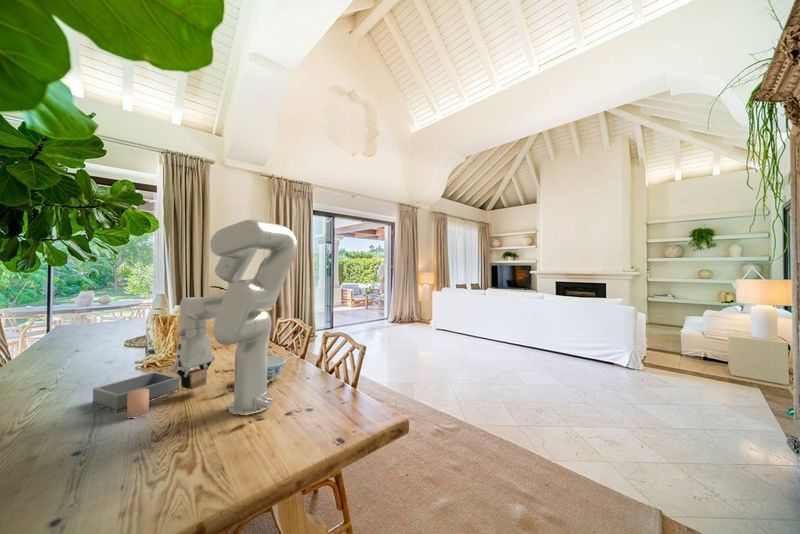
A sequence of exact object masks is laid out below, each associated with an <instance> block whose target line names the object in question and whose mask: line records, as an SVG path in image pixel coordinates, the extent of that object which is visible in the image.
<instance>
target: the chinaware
mask: <svg viewBox="0 0 800 534" xmlns="http://www.w3.org/2000/svg"><path fill="white" fill-rule="evenodd" d="M285 364H286V358H285V357H283V356H279V355H268V358H267V380H271V379H274V380H275V378H276V377H278V376H279V375H280V374H281V373H282V371H283V370H284V367H285Z"/></svg>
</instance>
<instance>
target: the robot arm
mask: <svg viewBox="0 0 800 534" xmlns="http://www.w3.org/2000/svg"><path fill="white" fill-rule="evenodd" d="M209 243H210V244H209V246H210V250H211V252H212V254H214V255H215V256H217V257H220V259H219V260H218V262H217V264H216V266H215V267H214V273H215V275H216V276H217V277H218V278H219V279H221V280H222V281H224V282H225V283H228V285H227V287H226V289H225V291H224V293H223V295H214V296H206V297H205V296H204V297H202V296H198V297H197V296H194V297H193V296H192V297H190V296H189V297H184V298H182V299H181V300H180V303H179V304H180V305H179V307H180V308H179V310H180V313H179V314H180V317H179V318H180V322H179V323H180V328H179V331H177V333H176V336H177V337H179V338H178V340H177V345H176V353H175V362H174V363H173V364H172V366H171V368H170V371H171V372H173V373H175V374H177V375H178V377H180V379H181V380H180V382H181V383H180V385H181V388H183V389H188V388H189V387H190V377H189V376H188V373H189V369H190V368H192V369H193V368H194V367H195V368H196V367H198V369H202V370H206V372H207V371H208V370H209V367H210V366H211V364H212V363H213V362H214V361H215V359H216V358H215V356H214V355H213V351H212V343H211V338H210V335H209V333H207V320H213V319H214V323H213V327H212V331H213V332H212V334H213V337H214V339H215V341H216V342H217V343H218V344H220V345H223V346H231V345H236V344H237V346H236V349H235V354H234V379H233V380H234V389H233V390H234V392H233V401H232V402H231V403H229V405H228V407H227V408H228V410H229V411H230V412H231V413H235V414H246V413H252V412H256V411H260V410H262V409H264V408H268V409H270V408H271V407H272V404H274V403H275V398H271V397H270V391H268V383H267V358H268V356H269V355H268V354H269V351H268V350H269V340H270V336H271V335H270V334H271V330H272V326H273V325H272V324H273V323H272V317H271V315H270V314H269V312H268V311H266V309H270V308H271V307H273V306H274V305H275V304H276V303H277V301H278V298H279V295H280V293H281V291H282V288H283V286H284V284H285V281H286V278H287V275H288V274H289V271H290V269H291V266H292V265H293V262H294V261H295V258H296V256H297V252H298V242H297V238H296V236H295V234H294V232H293V231H292V230H291V229H289V228H288V227H286V226H284V225H281V224H278V223H276V222H275V223H274V222H269V221H263V220H258V219H244V220H241V221H239V222H237V223H233V224H231V225H228V226H225V227H222V228H220V229H219V230H217V231H216V232H215V233H214V234H213V235H212V237H211V239H210V242H209ZM258 250H267V251H269V253H268V254H267V255H266V256H265V257H264V258H263V260H261V262H260V264H259V266H258V269H257V272H256V273H255V276H254V277H253V278H250V279H243V276H244V275H245V273H246V271H247V269H248V267H249V265H250V264H251V262H252V260H253V258H254V257H255V254H256V253H257V251H258ZM179 368H180V369H179ZM188 390H189V389H188ZM229 411H228V412H229ZM231 413H230V414H231Z"/></svg>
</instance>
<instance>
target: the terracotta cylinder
mask: <svg viewBox="0 0 800 534" xmlns="http://www.w3.org/2000/svg"><path fill="white" fill-rule="evenodd" d="M149 406H150V402H149V389H147V388H143V389H136V390H133V391H130V392H128V394H127V409H126V418H127V417H129V418H133V417H139V416H142V415H145V414H147V413H148V412H149V411H150V407H149ZM149 413H150V412H149ZM149 413H148V414H149ZM148 414H147V415H148ZM145 416H146V415H145Z"/></svg>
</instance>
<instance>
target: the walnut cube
mask: <svg viewBox="0 0 800 534" xmlns="http://www.w3.org/2000/svg"><path fill="white" fill-rule="evenodd" d="M193 369H194V370H190V371H189V373H188V376H189V377H190V387H189V388H188V390H194V389H197V388H199V387H203V386H206V385H207V371H206V370H202V369H200V368H193Z"/></svg>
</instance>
